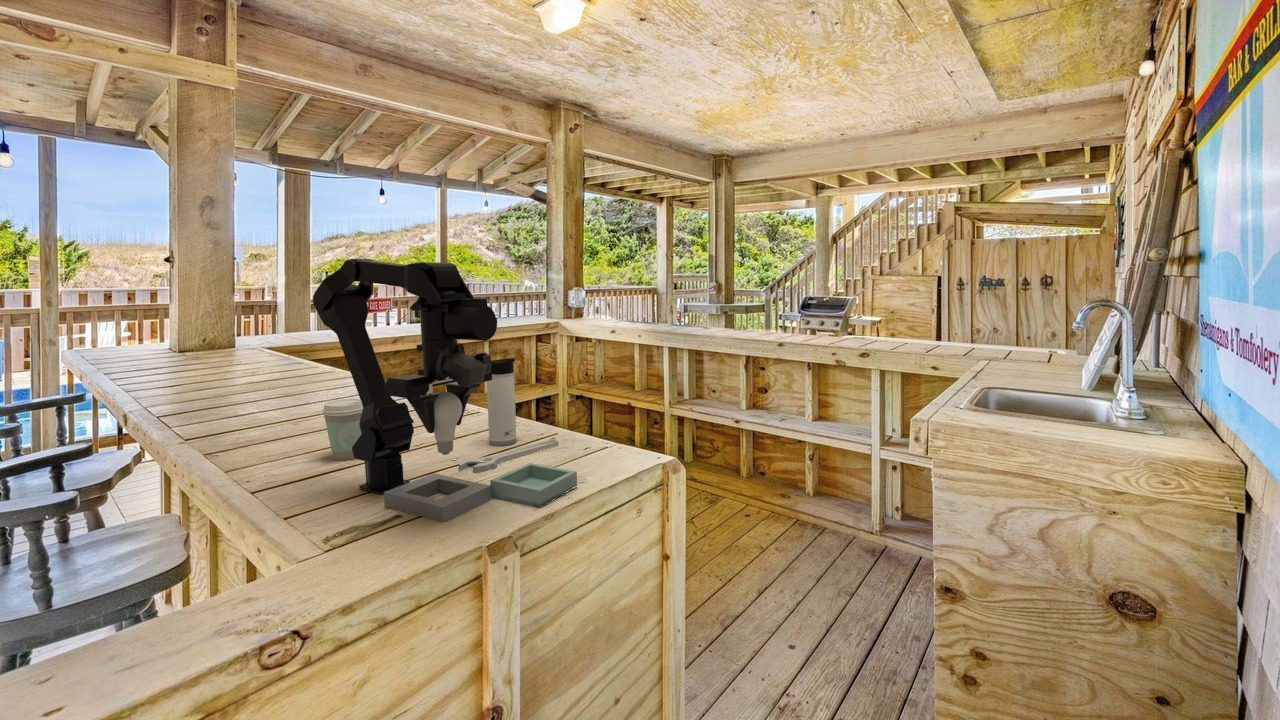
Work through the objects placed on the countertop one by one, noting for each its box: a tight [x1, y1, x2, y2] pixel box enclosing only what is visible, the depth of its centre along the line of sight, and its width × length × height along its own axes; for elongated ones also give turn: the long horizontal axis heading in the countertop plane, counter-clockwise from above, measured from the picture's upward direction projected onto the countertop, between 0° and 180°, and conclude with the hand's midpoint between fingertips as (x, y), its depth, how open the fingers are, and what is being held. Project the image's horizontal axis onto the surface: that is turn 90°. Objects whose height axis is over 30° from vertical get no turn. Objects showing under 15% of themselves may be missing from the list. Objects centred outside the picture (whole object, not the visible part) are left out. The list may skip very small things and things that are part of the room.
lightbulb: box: [434, 391, 462, 456], centre depth 101 cm, size 6×6×11 cm
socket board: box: [383, 472, 492, 523], centre depth 103 cm, size 14×11×2 cm
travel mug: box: [486, 357, 517, 447], centre depth 138 cm, size 6×7×20 cm
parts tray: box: [489, 462, 578, 508], centre depth 108 cm, size 11×11×3 cm
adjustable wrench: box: [458, 439, 559, 474], centre depth 128 cm, size 25×6×2 cm, turn 135°
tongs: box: [321, 513, 404, 549], centre depth 92 cm, size 4×13×2 cm, turn 152°
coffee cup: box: [321, 398, 363, 461], centre depth 129 cm, size 9×8×12 cm
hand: (444, 428), depth 101 cm, fingers closed on lightbulb, 5 cm apart
